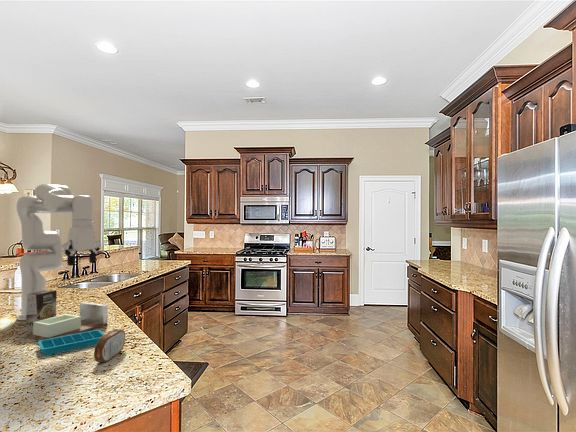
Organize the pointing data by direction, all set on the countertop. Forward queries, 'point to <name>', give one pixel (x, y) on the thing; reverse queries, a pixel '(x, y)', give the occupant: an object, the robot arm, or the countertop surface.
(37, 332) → the pale green open box
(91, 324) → the brown flat board
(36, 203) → the robot arm
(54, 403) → the countertop surface
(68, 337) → the ice cube tray
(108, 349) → the tin
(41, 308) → the coffee box
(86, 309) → the stop wall
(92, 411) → the countertop surface
